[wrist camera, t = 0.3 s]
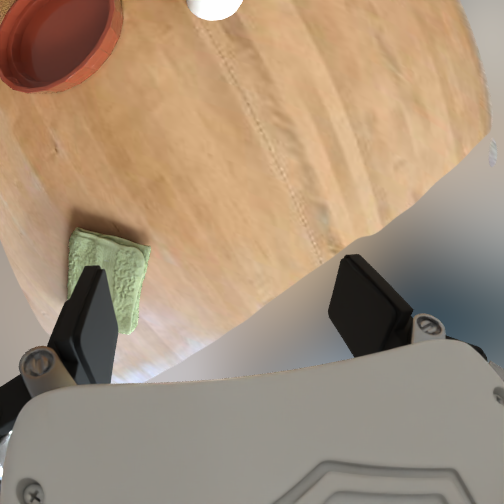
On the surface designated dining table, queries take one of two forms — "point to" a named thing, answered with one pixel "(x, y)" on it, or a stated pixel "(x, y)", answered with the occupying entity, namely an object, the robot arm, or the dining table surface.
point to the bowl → (56, 42)
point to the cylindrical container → (213, 8)
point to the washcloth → (111, 270)
